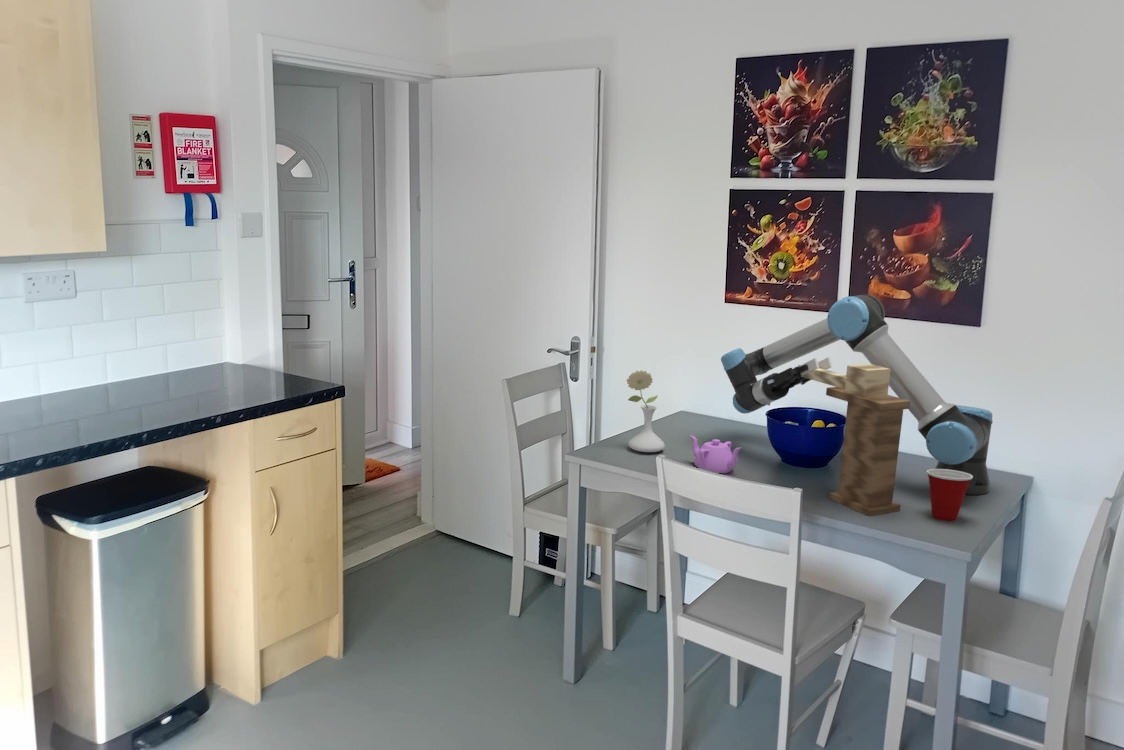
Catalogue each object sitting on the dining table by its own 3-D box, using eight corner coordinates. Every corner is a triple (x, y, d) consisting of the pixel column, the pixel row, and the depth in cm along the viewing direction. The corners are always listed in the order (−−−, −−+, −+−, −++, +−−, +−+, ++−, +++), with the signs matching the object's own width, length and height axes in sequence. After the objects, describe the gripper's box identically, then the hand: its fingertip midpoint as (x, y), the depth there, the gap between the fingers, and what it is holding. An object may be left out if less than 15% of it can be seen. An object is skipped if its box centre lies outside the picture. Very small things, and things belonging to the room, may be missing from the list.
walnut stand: (900, 510, 227) (913, 401, 221) (868, 516, 222) (881, 404, 216) (844, 487, 244) (856, 385, 238) (814, 491, 239) (825, 387, 233)
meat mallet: (887, 395, 226) (890, 369, 225) (864, 397, 223) (867, 370, 221) (811, 374, 251) (814, 350, 249) (790, 375, 247) (792, 351, 246)
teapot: (739, 476, 250) (742, 446, 248) (690, 474, 250) (693, 444, 249) (734, 464, 261) (736, 435, 260) (687, 461, 262) (689, 433, 260)
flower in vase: (667, 447, 276) (672, 369, 271) (661, 457, 265) (667, 376, 260) (626, 442, 279) (630, 365, 274) (619, 452, 268) (623, 372, 263)
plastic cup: (954, 510, 229) (960, 466, 226) (975, 525, 218) (981, 479, 216) (913, 509, 228) (919, 465, 226) (932, 524, 218) (938, 478, 215)
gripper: (796, 398, 264) (850, 373, 244) (751, 402, 256) (803, 377, 236) (790, 375, 266) (843, 348, 246) (745, 378, 258) (795, 350, 238)
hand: (823, 362), depth 241 cm, fingers open, 4 cm apart
